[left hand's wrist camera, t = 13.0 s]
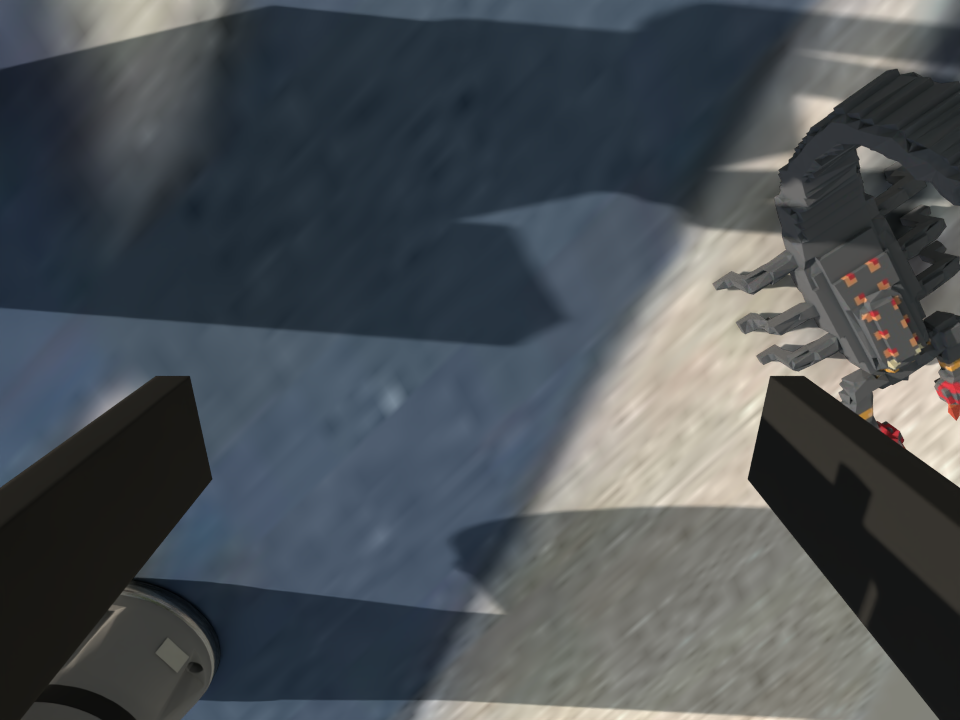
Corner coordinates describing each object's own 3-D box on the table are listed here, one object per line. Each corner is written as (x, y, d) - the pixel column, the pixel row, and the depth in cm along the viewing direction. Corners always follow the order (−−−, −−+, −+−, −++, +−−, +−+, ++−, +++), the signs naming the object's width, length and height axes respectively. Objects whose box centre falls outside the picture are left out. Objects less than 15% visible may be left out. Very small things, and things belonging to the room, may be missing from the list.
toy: (844, 27, 32) (1269, -108, 15) (990, 365, 40) (1376, 532, 22) (645, 173, 35) (806, 202, 18) (819, 459, 42) (1045, 670, 26)
